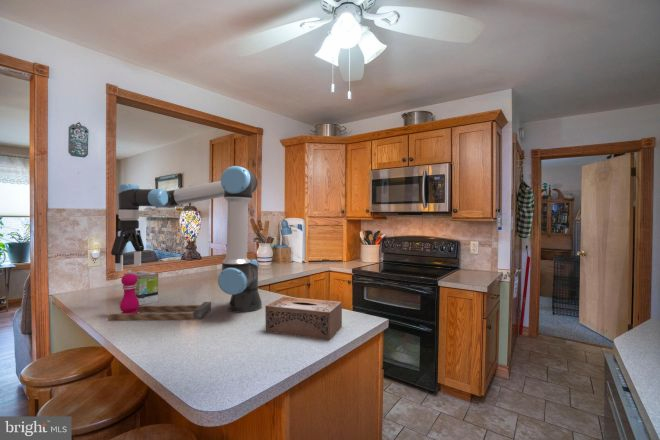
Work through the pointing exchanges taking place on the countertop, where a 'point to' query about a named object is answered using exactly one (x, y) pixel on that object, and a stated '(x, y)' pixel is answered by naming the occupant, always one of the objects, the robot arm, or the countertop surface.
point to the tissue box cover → (304, 317)
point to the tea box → (146, 287)
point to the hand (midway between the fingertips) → (128, 268)
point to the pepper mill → (129, 294)
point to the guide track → (197, 315)
